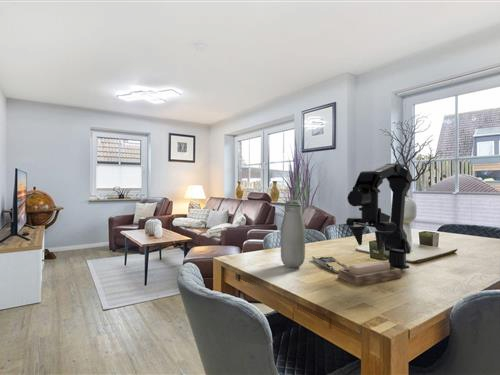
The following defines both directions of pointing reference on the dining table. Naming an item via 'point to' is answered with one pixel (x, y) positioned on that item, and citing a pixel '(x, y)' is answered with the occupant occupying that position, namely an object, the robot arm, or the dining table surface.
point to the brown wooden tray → (369, 276)
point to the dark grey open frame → (328, 259)
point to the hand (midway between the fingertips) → (369, 247)
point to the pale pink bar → (369, 267)
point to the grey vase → (293, 235)
